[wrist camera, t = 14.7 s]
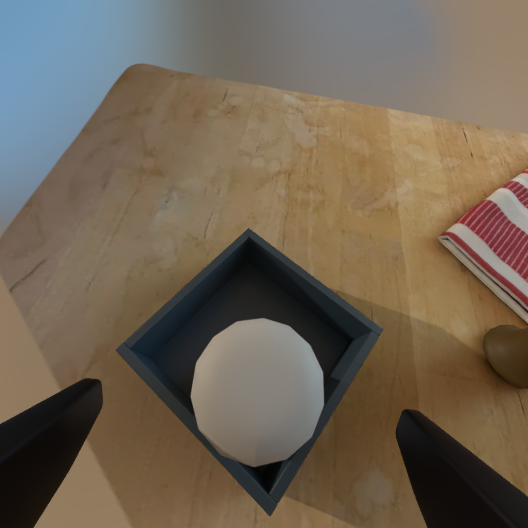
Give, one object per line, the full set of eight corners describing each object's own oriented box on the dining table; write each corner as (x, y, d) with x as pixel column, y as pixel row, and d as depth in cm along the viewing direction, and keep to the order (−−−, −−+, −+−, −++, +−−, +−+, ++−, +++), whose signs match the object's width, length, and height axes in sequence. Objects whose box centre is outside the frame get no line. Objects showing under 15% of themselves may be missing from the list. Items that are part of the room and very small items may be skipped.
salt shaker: (190, 394, 19) (111, 387, 7) (246, 335, 21) (253, 257, 9) (249, 460, 17) (269, 586, 6) (303, 389, 19) (393, 376, 8)
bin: (262, 486, 17) (270, 517, 13) (142, 360, 20) (114, 349, 16) (355, 343, 22) (383, 329, 18) (247, 257, 25) (248, 227, 21)
